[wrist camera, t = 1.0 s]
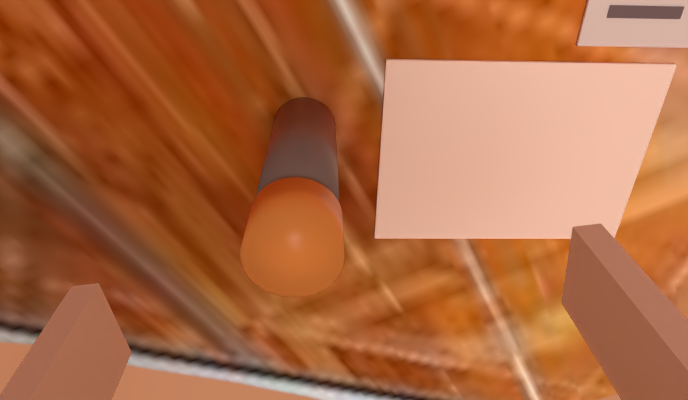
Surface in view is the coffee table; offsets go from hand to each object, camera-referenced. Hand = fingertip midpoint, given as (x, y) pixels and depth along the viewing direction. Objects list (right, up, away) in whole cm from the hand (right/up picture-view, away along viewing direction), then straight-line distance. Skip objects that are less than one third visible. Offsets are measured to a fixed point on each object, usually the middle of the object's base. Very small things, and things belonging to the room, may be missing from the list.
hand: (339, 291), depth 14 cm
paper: (+12, +6, +20) cm, 23 cm away
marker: (-2, +7, +18) cm, 20 cm away
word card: (+18, +14, +15) cm, 27 cm away
